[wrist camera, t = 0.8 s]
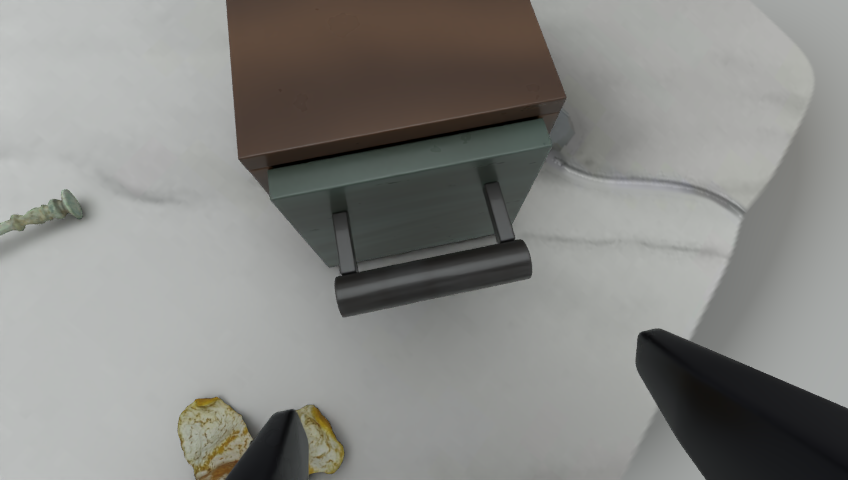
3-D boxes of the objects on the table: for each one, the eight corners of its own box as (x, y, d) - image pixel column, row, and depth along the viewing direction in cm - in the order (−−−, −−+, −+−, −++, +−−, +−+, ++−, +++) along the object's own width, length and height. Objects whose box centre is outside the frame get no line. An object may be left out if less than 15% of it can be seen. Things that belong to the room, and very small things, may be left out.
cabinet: (510, 215, 24) (567, 97, 14) (318, 254, 24) (237, 159, 14) (456, 32, 29) (470, -157, 19) (292, 61, 28) (216, -119, 18)
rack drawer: (529, 302, 22) (591, 251, 14) (339, 342, 21) (280, 316, 13) (456, 51, 27) (468, -97, 19) (301, 78, 27) (243, -62, 18)
